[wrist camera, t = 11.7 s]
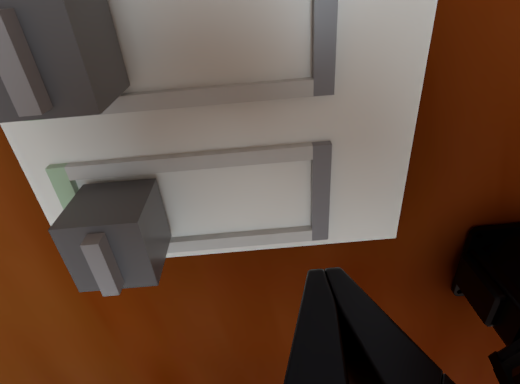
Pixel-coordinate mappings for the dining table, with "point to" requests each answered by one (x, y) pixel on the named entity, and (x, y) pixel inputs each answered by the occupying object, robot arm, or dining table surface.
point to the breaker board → (250, 120)
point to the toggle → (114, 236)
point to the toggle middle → (58, 59)
